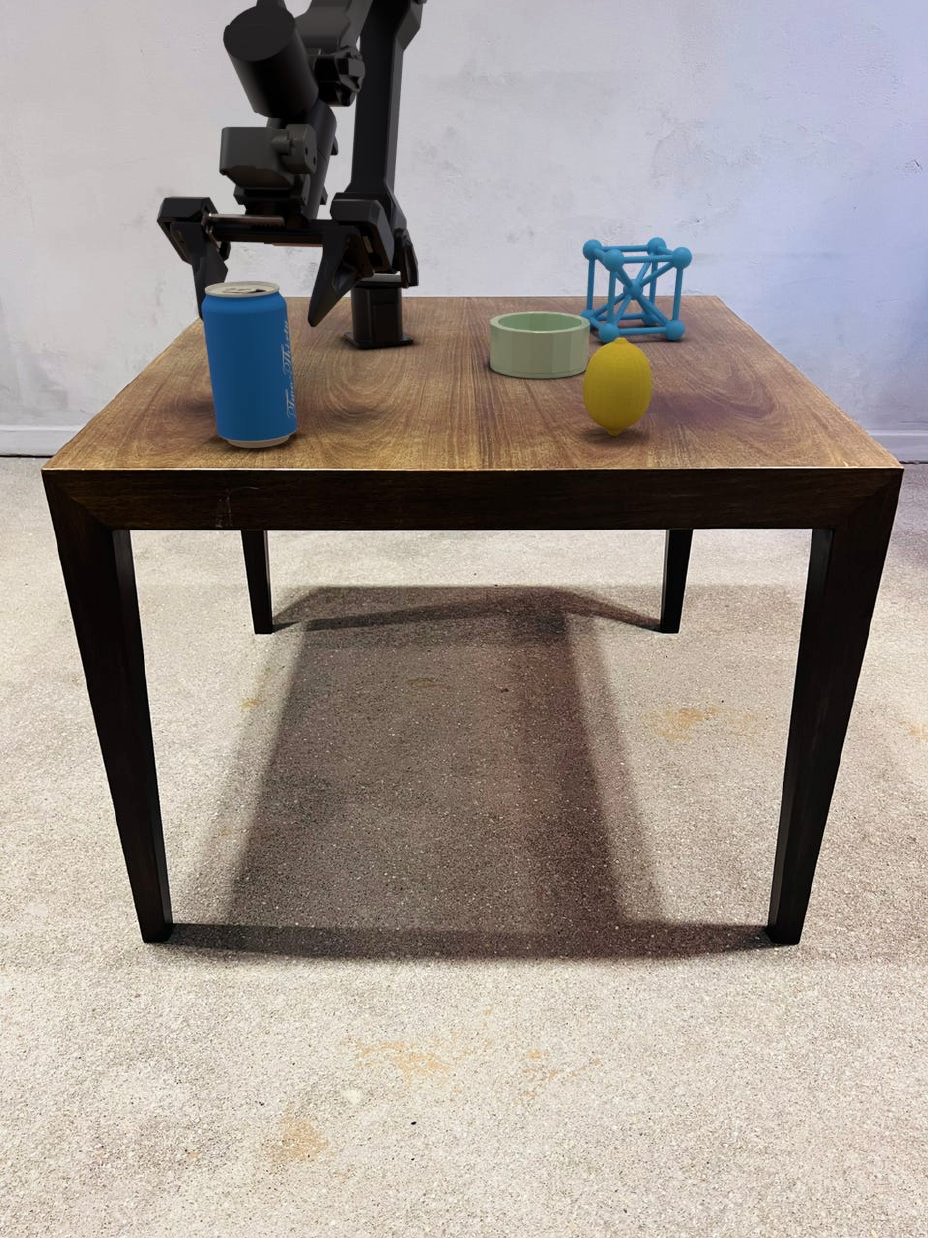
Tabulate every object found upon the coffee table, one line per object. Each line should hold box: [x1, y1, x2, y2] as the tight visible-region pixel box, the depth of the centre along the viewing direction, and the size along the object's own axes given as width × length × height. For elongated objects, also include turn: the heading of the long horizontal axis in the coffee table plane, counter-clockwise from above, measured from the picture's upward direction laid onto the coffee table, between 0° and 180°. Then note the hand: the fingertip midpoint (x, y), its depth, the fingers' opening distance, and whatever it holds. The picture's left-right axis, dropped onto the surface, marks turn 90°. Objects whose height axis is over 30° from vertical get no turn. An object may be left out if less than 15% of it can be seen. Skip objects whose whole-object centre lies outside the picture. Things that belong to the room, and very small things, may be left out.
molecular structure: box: [579, 236, 693, 345], centre depth 111 cm, size 10×10×10 cm
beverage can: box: [201, 280, 298, 449], centre depth 78 cm, size 6×6×12 cm
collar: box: [489, 310, 591, 380], centre depth 100 cm, size 10×10×4 cm
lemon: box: [582, 336, 653, 436], centre depth 79 cm, size 6×6×8 cm
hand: (256, 321), depth 79 cm, fingers open, 9 cm apart
